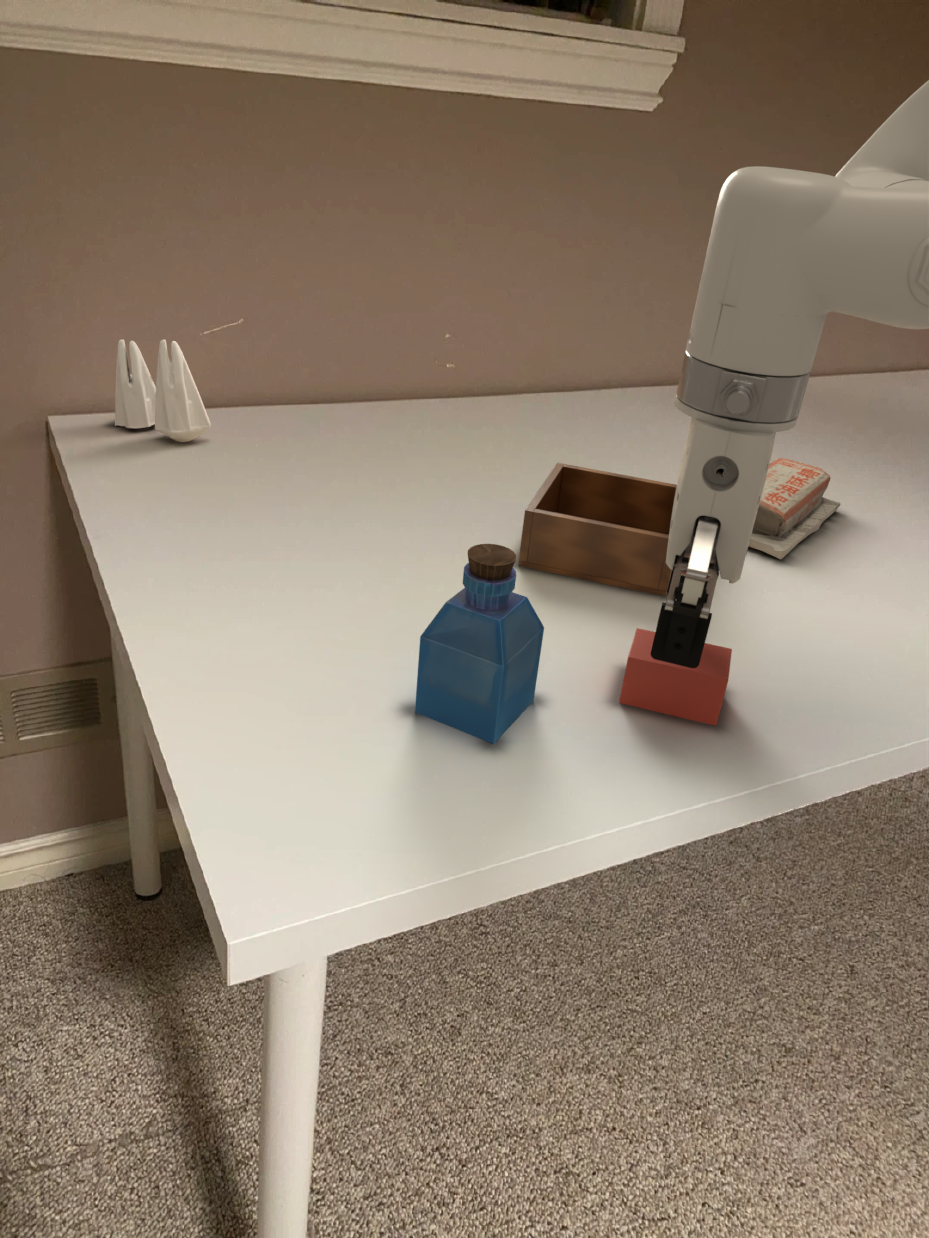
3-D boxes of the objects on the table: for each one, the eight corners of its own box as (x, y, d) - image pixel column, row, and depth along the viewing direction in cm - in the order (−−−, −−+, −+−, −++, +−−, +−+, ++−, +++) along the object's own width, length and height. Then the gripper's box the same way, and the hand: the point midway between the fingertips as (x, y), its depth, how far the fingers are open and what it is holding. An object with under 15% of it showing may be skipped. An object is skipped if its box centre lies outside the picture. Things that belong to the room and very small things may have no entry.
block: (720, 693, 71) (732, 648, 69) (716, 726, 67) (728, 679, 65) (627, 672, 72) (636, 627, 70) (618, 703, 69) (627, 656, 67)
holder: (680, 539, 95) (692, 487, 93) (665, 597, 84) (677, 540, 81) (549, 513, 98) (557, 462, 96) (517, 566, 87) (524, 510, 84)
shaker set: (214, 441, 108) (210, 344, 103) (187, 451, 105) (181, 350, 100) (139, 417, 113) (131, 323, 108) (112, 425, 110) (102, 329, 105)
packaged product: (763, 447, 108) (850, 472, 103) (753, 487, 110) (838, 512, 105) (698, 487, 95) (794, 517, 90) (688, 531, 97) (781, 563, 92)
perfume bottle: (493, 744, 63) (513, 586, 57) (414, 713, 65) (425, 557, 60) (533, 701, 68) (555, 551, 62) (458, 673, 70) (472, 526, 64)
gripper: (803, 441, 50) (727, 705, 59) (801, 369, 65) (740, 588, 73) (663, 415, 52) (608, 676, 60) (691, 350, 66) (644, 567, 75)
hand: (681, 628), depth 67 cm, fingers open, 9 cm apart
